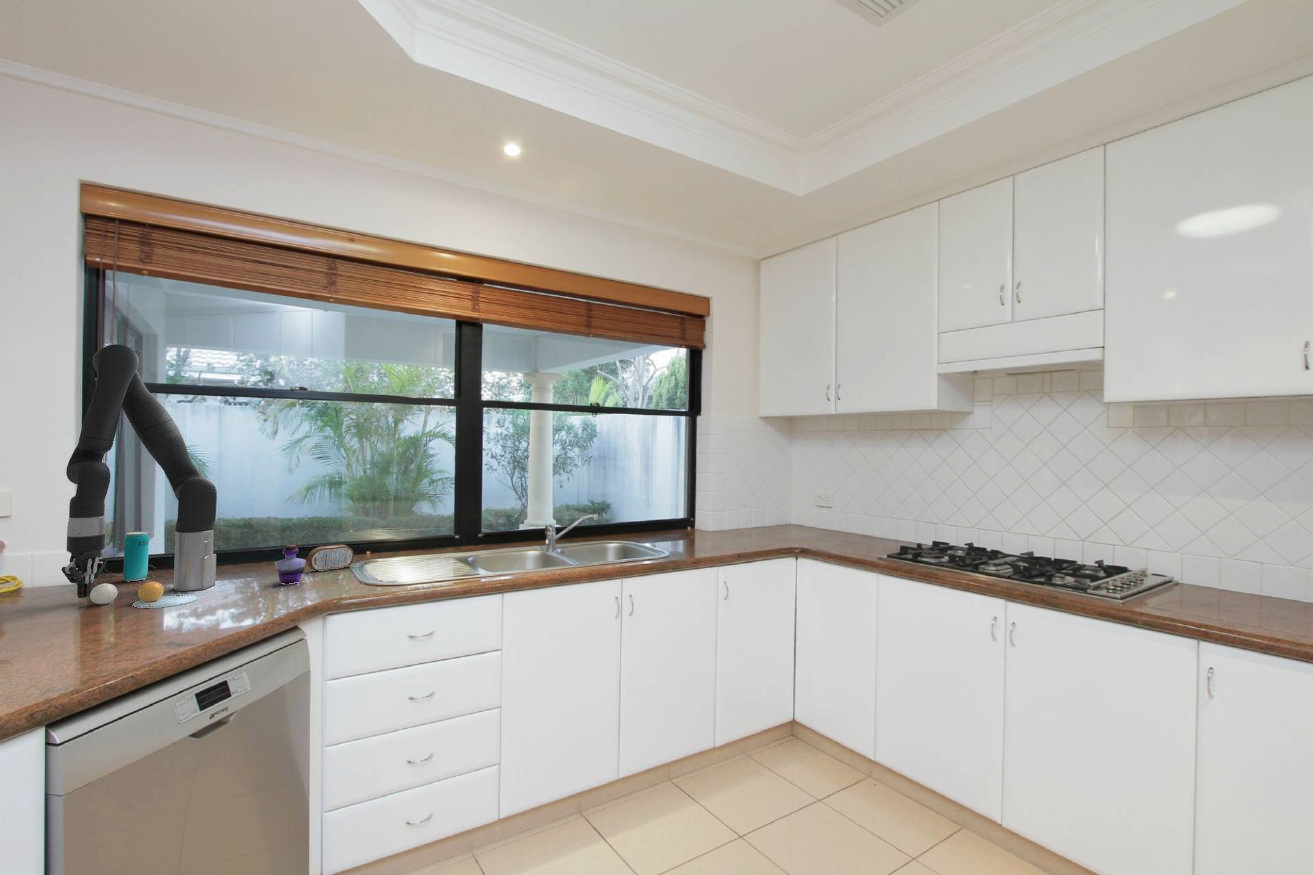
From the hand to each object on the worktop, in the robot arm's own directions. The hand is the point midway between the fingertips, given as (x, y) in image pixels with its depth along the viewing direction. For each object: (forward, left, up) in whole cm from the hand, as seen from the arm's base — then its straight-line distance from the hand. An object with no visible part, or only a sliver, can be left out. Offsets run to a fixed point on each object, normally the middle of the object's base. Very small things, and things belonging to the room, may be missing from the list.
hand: (84, 597), depth 164 cm
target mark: (-20, 0, -2) cm, 20 cm away
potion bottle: (-43, -21, -2) cm, 48 cm away
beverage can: (+4, -26, -2) cm, 26 cm away
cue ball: (-6, +2, +1) cm, 6 cm away
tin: (-48, -41, -2) cm, 63 cm away
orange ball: (-16, 0, +1) cm, 16 cm away
